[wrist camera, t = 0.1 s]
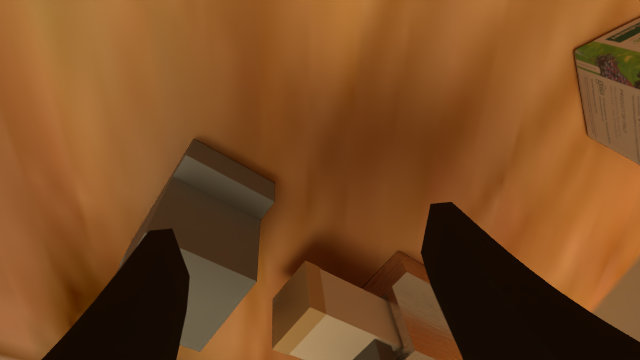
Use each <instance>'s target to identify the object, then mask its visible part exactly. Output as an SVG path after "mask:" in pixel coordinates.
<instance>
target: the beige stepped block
mask: <svg viewBox="0 0 640 360" xmlns="http://www.w3.org/2000/svg"><path fill="white" fill-rule="evenodd" d="M362 289H363V290H365V291H367V292H370V293H372V294H374V295H376V296H378V297H380V298H382V299H384V300H386V301H388V302H389V303H390V306H391V309H392V312H393V315H394V318H395V321H396V324H397V327H398V330H399V333H400V336H401V339H402V342H403V345H404V348H403V349H402V350H401V351H400V352H399V353H398V354H397V355H396V356H395V359H396V360H463V358H462V356H461V354H460V351H459V349H458V347H457V345H456V342H455V340H454V338H453V335H452V333H451V331H450V329H449V326H448V324H447V322H446V320H445V317H444V315H443V313H442V311H441V308H440V306H439V304H438V301H437V299H436V297H435V294H434V292H433V290H432V287H431V285H430V282H429V279H428V275H427V272H426V269H425V266H424V265H422V264H421V263H419V262H417V261H415V260H413V259H411V258H410V257H408V256H406V255H404V254H402V253H401V252H399V251H397V252H396V253H395V254H394V256H393V257H392V258H391V259H390V260H389V261H388V262H387V263H386V264H385V265H384V266H383V267H382V268H381V269H380V270H379V271H378V272H377V273H376V274H375V275H374V276H373V278H372V279H371V280H370V281H369V282H368V283H367V284H366V285H365V286H364V287H363V288H362Z"/></svg>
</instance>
